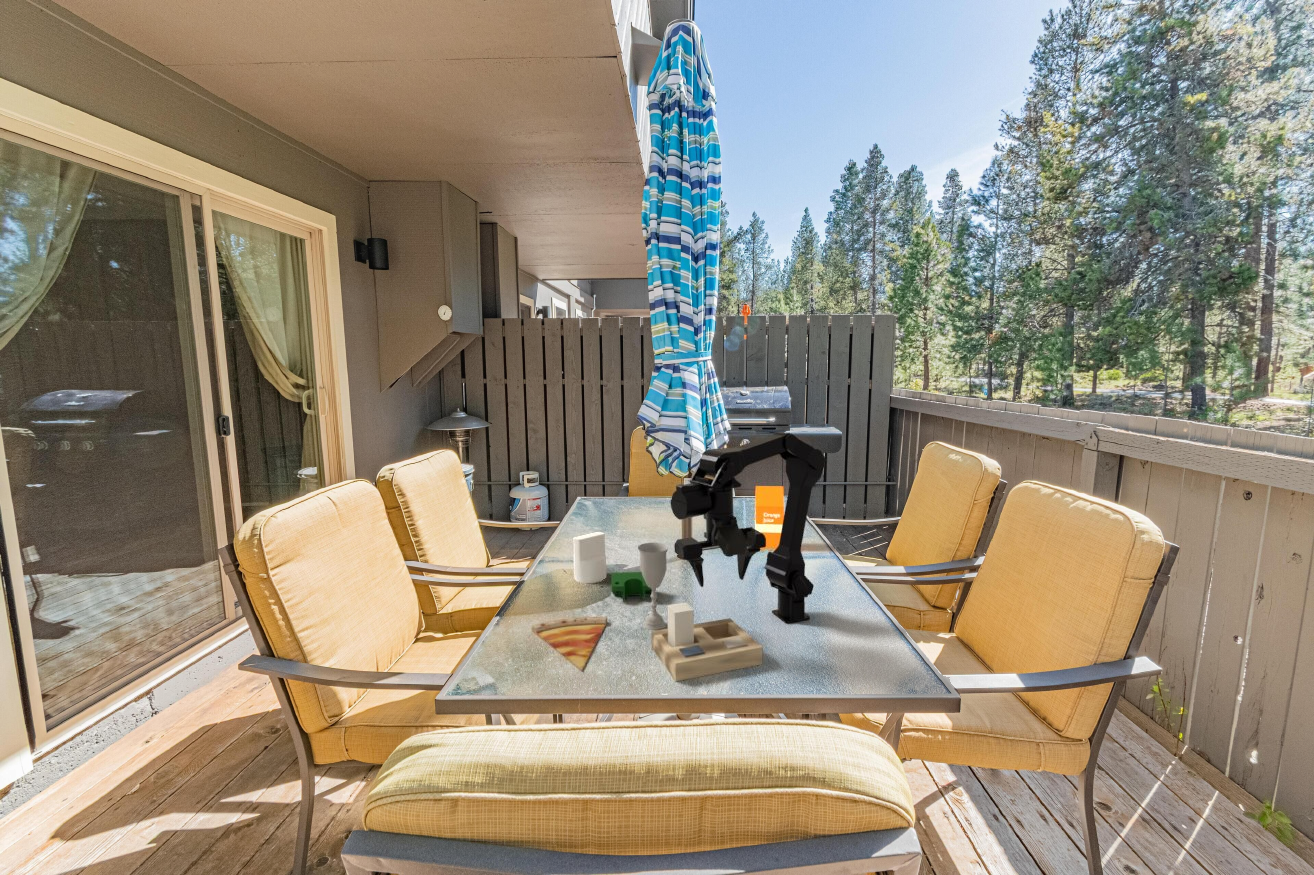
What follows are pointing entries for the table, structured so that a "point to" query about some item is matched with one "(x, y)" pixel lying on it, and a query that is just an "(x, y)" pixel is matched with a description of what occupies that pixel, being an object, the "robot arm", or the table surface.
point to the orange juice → (769, 513)
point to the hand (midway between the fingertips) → (721, 582)
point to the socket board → (708, 650)
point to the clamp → (629, 584)
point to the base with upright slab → (589, 558)
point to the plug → (680, 625)
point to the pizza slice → (572, 637)
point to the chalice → (653, 578)
